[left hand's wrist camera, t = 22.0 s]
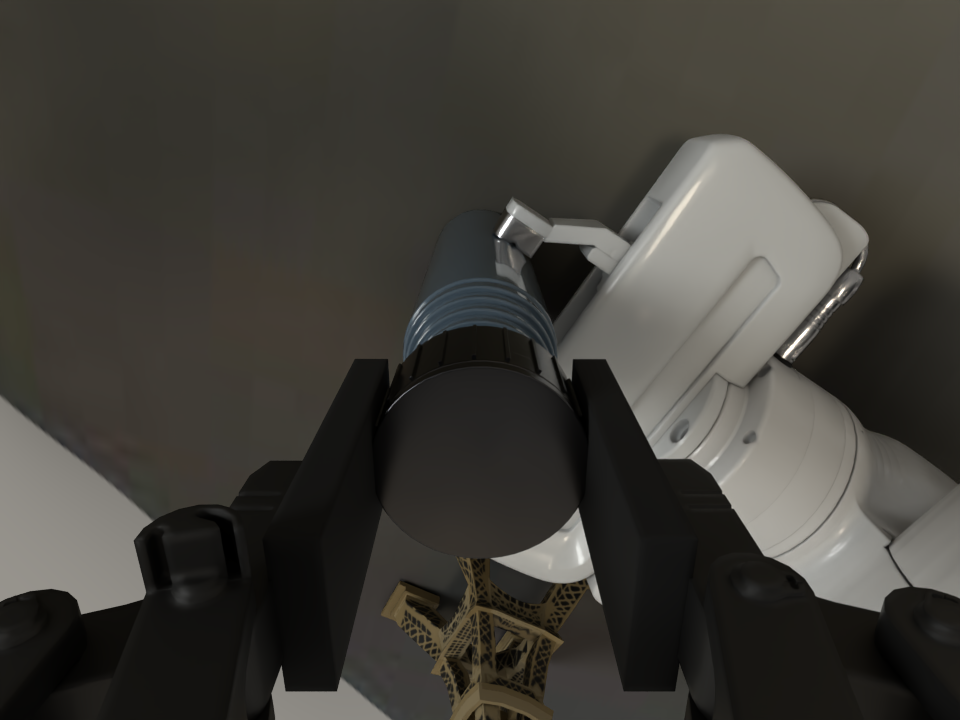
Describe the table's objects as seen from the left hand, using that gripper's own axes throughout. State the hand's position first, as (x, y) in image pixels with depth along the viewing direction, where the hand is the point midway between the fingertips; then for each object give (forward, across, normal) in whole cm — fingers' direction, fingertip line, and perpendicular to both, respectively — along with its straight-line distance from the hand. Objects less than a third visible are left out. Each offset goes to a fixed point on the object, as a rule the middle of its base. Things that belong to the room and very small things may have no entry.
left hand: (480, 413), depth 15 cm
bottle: (+18, 0, 0) cm, 18 cm away
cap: (-2, 0, 0) cm, 2 cm away
